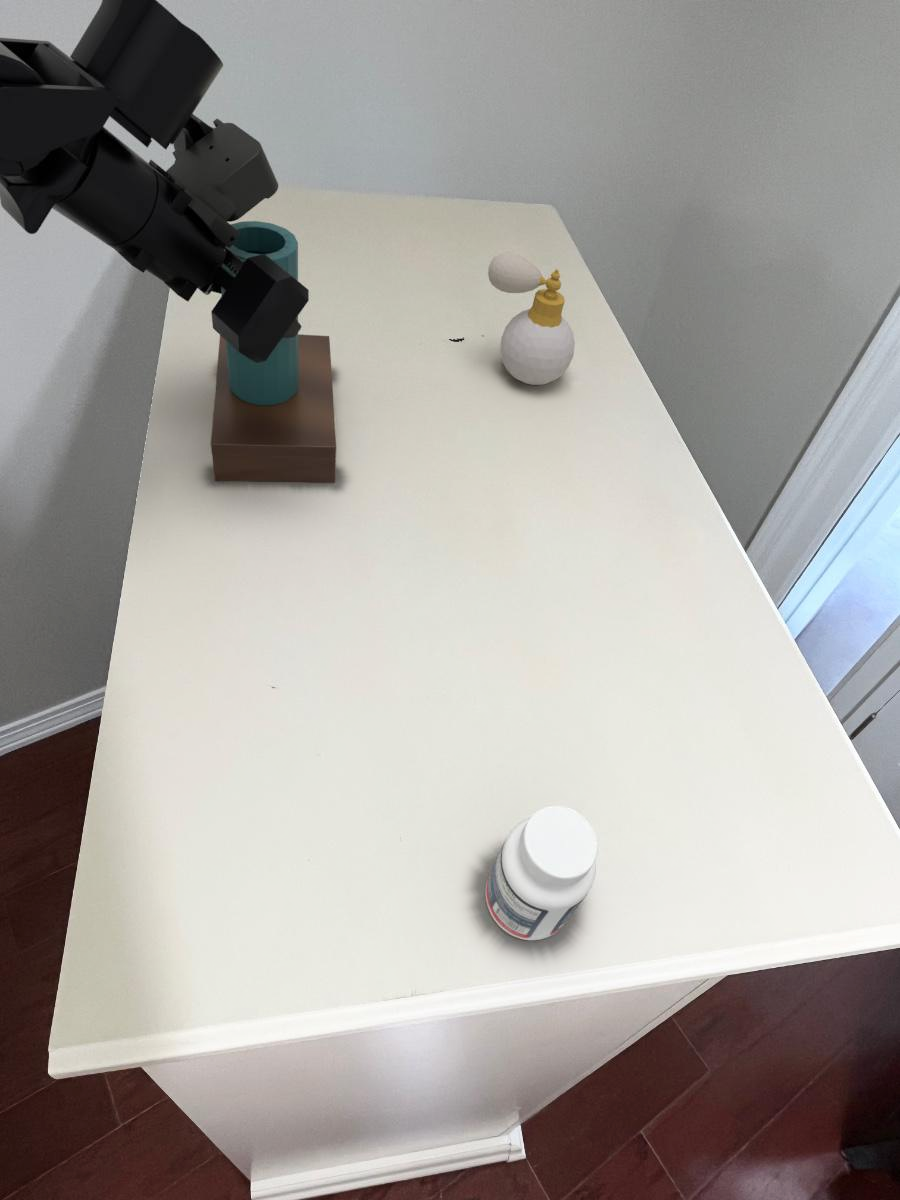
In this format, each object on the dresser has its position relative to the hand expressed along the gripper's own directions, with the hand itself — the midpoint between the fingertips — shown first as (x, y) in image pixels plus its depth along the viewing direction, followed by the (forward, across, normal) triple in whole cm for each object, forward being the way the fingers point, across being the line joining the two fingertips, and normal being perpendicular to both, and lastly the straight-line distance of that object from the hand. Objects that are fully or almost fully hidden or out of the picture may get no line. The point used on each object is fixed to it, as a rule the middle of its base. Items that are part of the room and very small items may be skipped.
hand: (275, 312), depth 65 cm
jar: (+4, 0, +6) cm, 7 cm away
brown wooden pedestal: (+7, 0, +8) cm, 11 cm away
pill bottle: (-2, -46, +17) cm, 49 cm away
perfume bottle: (+25, -7, -10) cm, 28 cm away
